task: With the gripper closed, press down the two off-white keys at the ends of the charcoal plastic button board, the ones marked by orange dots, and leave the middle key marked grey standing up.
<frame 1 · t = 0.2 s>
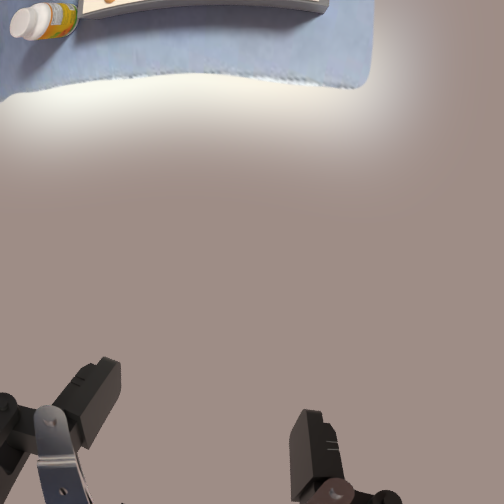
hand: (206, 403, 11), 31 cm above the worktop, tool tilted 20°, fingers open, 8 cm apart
supplement bottle: (67, 20, 25), on the worktop
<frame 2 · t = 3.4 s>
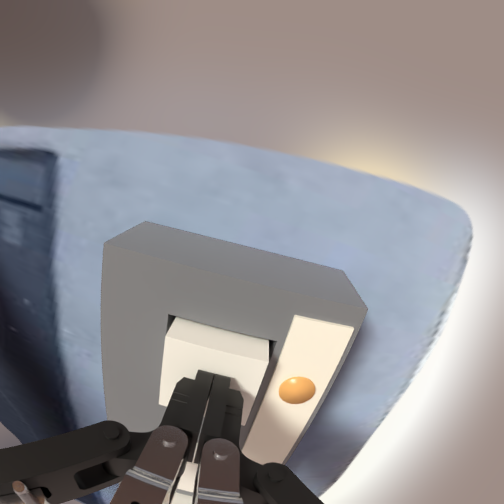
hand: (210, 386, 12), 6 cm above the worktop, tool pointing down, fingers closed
button board: (203, 412, 21), on the worktop
middle key: (191, 462, 16), point 5 cm above the worktop, slide at 0.0 cm
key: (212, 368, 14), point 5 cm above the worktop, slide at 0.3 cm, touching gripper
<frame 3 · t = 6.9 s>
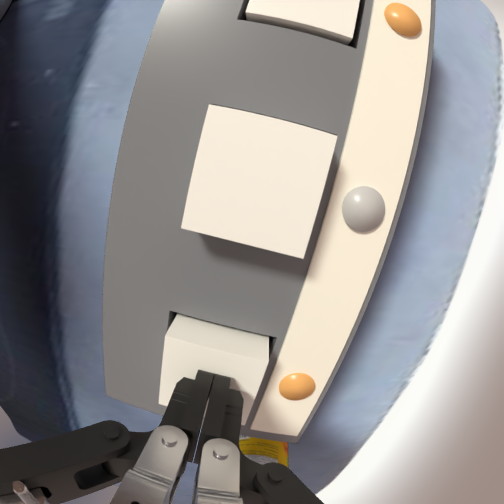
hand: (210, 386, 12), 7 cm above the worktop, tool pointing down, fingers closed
button board: (261, 174, 16), on the worktop
middle key: (258, 179, 11), point 5 cm above the worktop, slide at 0.0 cm
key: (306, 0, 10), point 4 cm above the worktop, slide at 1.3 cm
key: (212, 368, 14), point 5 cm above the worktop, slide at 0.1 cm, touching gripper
supplement bottle: (255, 434, 22), on the worktop
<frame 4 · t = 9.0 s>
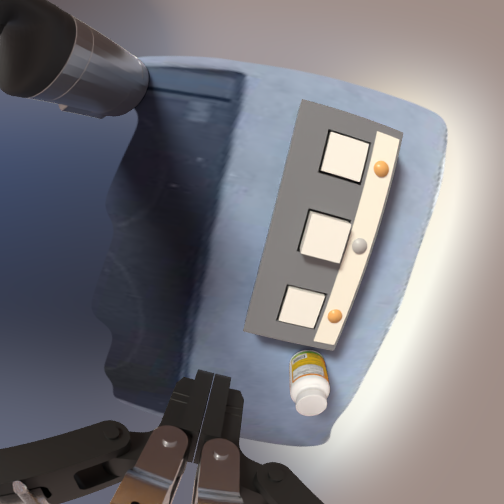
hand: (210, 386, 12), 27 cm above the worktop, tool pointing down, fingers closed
button board: (318, 227, 37), on the worktop
middle key: (324, 236, 32), point 5 cm above the worktop, slide at 0.0 cm
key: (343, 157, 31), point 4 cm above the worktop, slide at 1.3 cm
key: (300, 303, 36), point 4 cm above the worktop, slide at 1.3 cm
supplement bottle: (306, 362, 43), on the worktop
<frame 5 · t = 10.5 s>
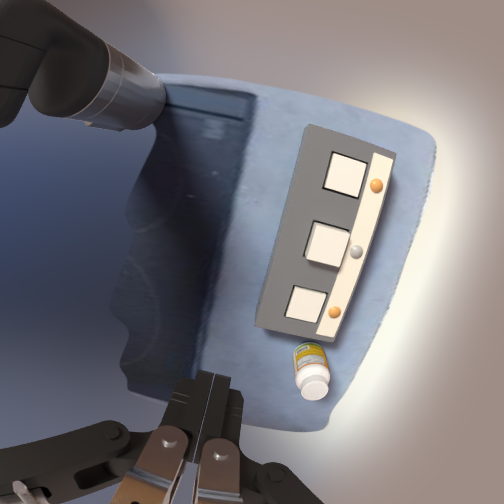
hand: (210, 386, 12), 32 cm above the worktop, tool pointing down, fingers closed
button board: (319, 234, 43), on the worktop
middle key: (326, 243, 38), point 5 cm above the worktop, slide at 0.0 cm
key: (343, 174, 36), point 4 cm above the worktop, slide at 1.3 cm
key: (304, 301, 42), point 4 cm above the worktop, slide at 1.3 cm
supplement bottle: (308, 353, 49), on the worktop
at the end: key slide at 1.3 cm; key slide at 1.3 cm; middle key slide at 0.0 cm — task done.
